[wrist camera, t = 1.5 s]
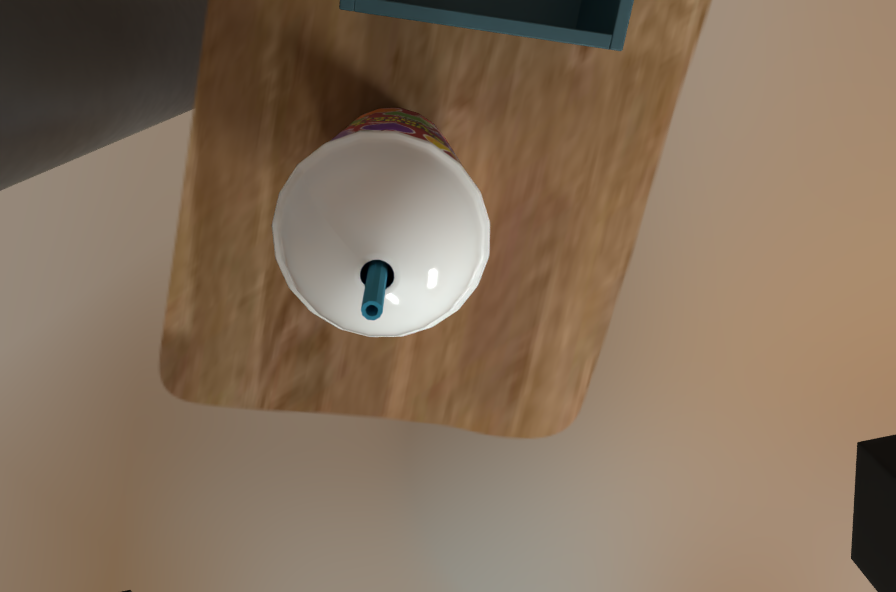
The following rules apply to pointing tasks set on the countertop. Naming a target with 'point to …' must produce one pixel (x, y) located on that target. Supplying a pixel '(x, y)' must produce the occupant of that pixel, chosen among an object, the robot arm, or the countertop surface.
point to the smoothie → (382, 227)
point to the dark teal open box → (517, 17)
